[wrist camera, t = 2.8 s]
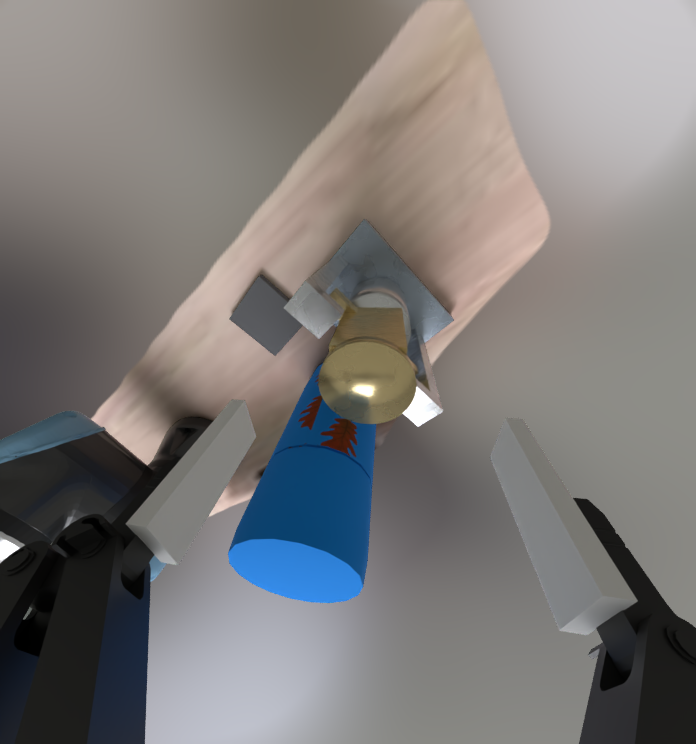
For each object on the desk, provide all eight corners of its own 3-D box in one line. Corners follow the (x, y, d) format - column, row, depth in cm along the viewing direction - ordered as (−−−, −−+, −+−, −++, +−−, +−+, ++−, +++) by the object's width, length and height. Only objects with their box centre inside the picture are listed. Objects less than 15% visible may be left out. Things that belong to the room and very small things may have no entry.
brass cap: (440, 347, 24) (463, 408, 17) (384, 388, 27) (382, 454, 20) (358, 261, 21) (341, 289, 14) (307, 319, 24) (270, 366, 17)
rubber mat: (277, 352, 39) (275, 355, 38) (232, 316, 37) (229, 318, 36) (309, 317, 35) (307, 320, 34) (261, 274, 33) (258, 276, 32)
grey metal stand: (385, 365, 37) (384, 449, 24) (305, 290, 33) (250, 342, 20) (450, 314, 32) (493, 385, 19) (365, 218, 28) (344, 223, 15)
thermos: (354, 422, 44) (322, 613, 23) (299, 392, 42) (211, 570, 21) (391, 380, 39) (395, 580, 18) (330, 343, 37) (252, 518, 16)
